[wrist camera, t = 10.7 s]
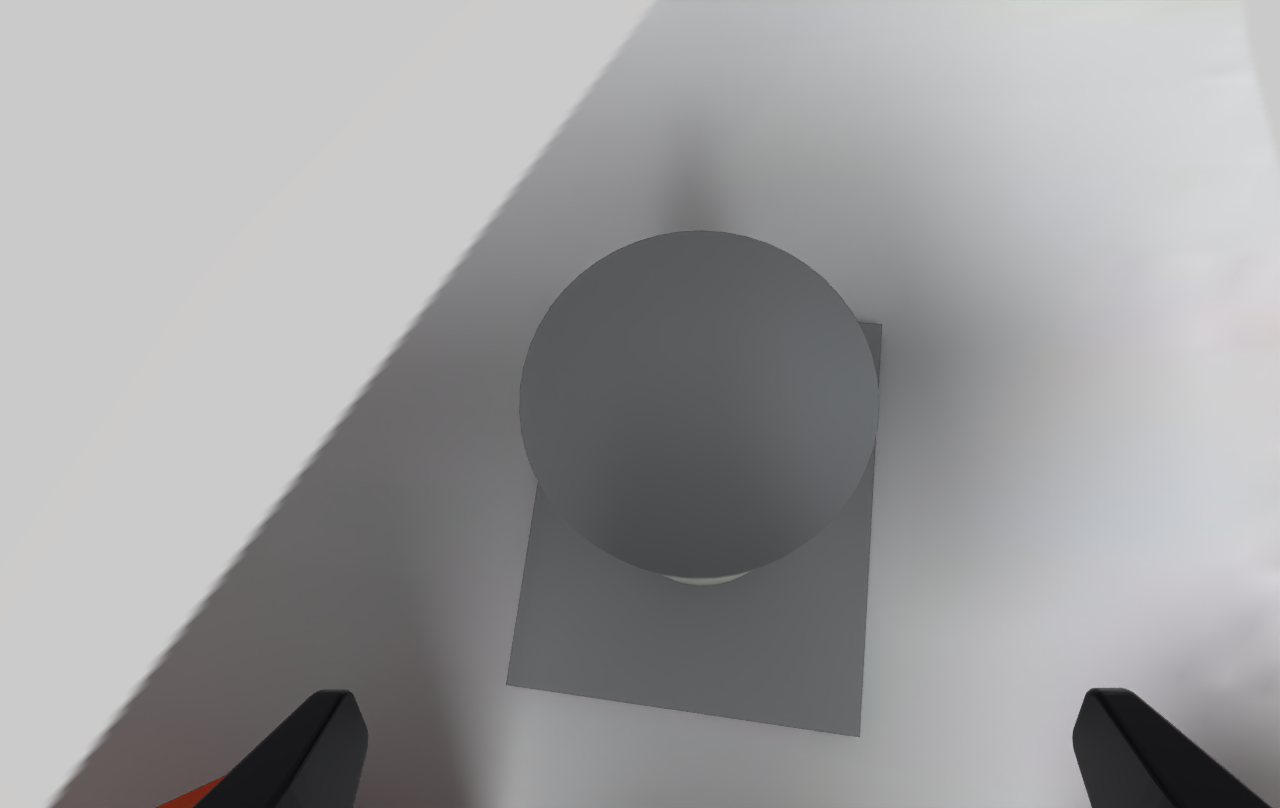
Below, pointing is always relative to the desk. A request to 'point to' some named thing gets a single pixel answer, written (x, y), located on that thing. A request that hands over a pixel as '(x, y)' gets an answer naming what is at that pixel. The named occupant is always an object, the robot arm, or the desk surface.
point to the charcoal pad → (703, 624)
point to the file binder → (191, 796)
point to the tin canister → (699, 405)
